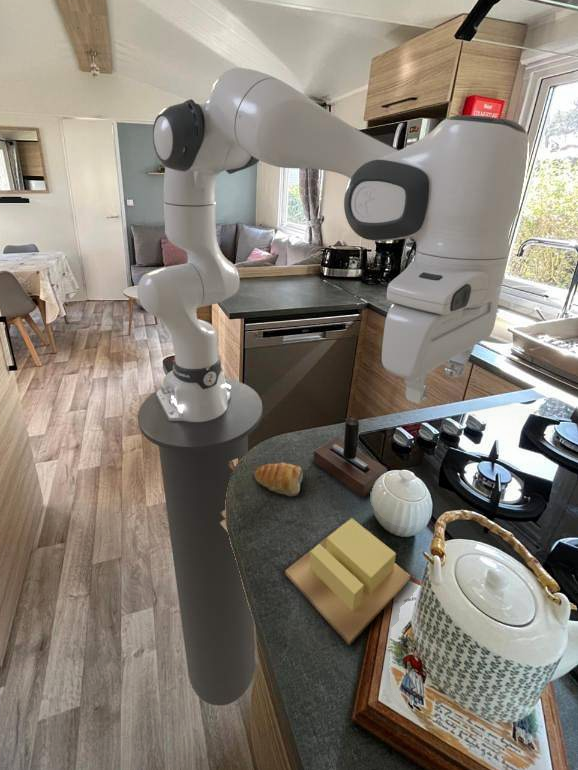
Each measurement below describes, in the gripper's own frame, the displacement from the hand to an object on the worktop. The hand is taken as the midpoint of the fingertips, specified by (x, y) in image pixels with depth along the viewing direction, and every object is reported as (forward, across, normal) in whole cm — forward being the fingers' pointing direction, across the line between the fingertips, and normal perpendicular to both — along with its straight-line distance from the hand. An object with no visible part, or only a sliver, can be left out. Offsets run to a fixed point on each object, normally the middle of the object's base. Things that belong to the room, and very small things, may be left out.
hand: (435, 386), depth 47 cm
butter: (+31, +5, -4) cm, 31 cm away
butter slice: (+31, +11, -4) cm, 33 cm away
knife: (+32, -10, -18) cm, 38 cm away
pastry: (+32, +3, -24) cm, 40 cm away
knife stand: (+32, -10, -18) cm, 38 cm away
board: (+32, +8, -4) cm, 33 cm away
